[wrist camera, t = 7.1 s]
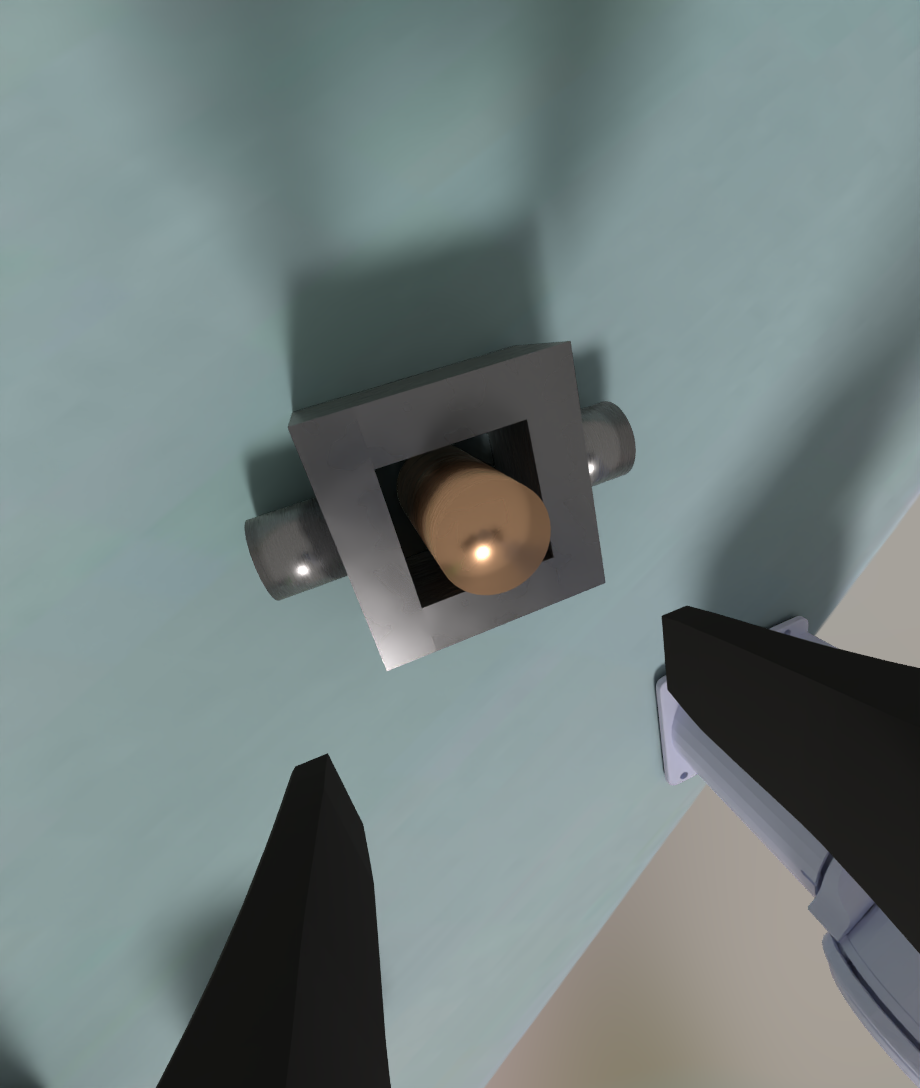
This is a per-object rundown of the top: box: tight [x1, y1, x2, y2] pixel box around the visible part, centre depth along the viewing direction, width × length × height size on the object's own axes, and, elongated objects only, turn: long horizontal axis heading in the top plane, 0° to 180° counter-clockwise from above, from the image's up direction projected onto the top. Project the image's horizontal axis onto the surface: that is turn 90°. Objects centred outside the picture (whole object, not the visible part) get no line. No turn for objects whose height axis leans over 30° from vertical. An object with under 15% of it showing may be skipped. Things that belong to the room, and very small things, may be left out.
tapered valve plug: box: [397, 445, 551, 595], centre depth 15 cm, size 3×3×6 cm
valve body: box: [245, 341, 636, 671], centre depth 16 cm, size 13×8×4 cm, turn 105°
